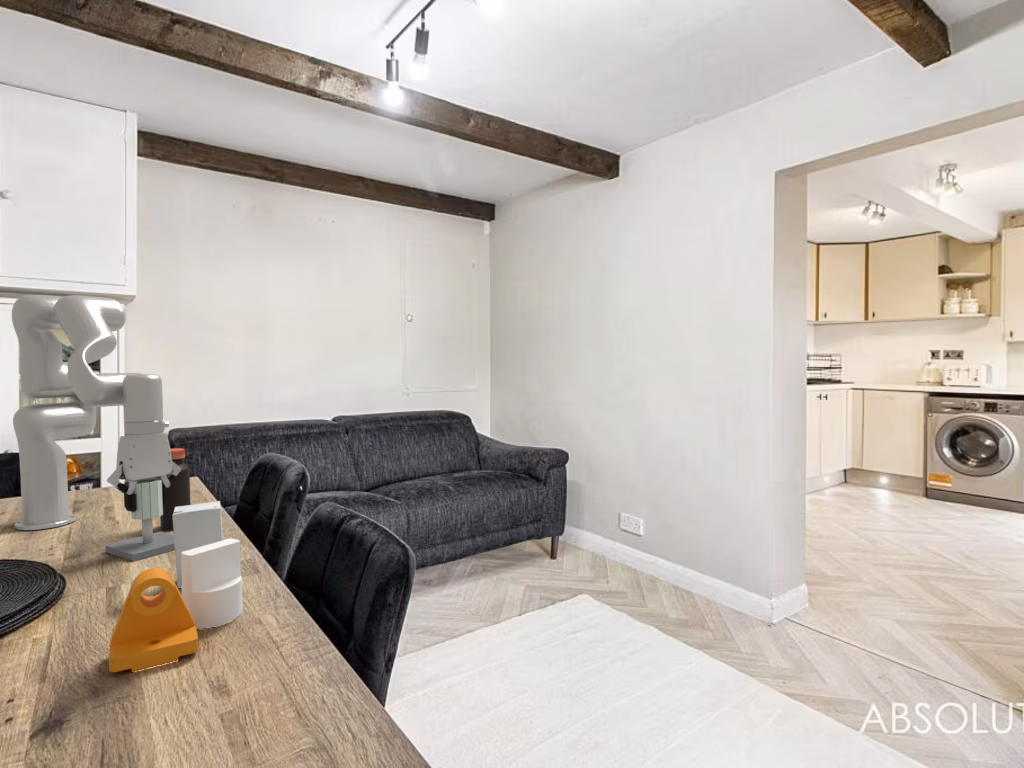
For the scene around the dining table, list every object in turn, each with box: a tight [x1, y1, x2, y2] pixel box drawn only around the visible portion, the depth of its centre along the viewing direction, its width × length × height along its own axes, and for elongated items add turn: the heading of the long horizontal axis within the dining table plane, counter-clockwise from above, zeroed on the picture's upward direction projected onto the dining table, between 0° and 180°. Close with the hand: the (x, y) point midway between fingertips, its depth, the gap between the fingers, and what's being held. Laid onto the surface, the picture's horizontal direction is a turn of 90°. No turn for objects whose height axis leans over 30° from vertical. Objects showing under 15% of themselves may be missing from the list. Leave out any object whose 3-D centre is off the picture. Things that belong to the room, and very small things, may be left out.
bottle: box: [159, 447, 192, 531], centre depth 149 cm, size 7×7×20 cm
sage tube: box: [130, 478, 163, 521], centre depth 131 cm, size 6×6×8 cm
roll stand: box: [104, 518, 175, 562], centre depth 132 cm, size 12×12×8 cm
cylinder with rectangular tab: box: [181, 538, 244, 628], centre depth 97 cm, size 9×9×12 cm
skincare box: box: [172, 500, 224, 590], centre depth 112 cm, size 8×6×15 cm
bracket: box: [108, 567, 199, 673], centre depth 84 cm, size 11×7×12 cm, turn 123°
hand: (147, 506), depth 131 cm, fingers closed on sage tube, 6 cm apart
